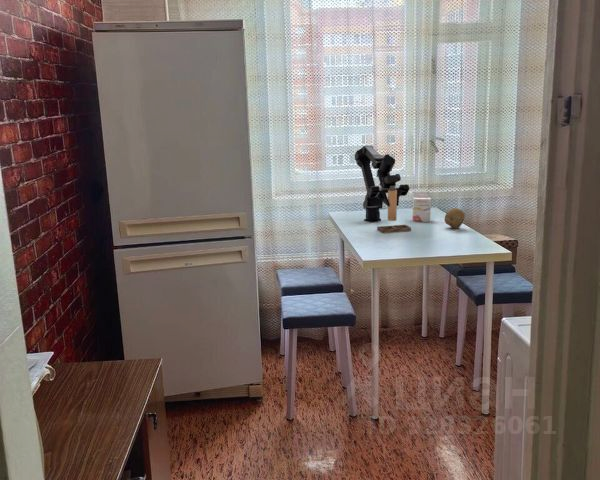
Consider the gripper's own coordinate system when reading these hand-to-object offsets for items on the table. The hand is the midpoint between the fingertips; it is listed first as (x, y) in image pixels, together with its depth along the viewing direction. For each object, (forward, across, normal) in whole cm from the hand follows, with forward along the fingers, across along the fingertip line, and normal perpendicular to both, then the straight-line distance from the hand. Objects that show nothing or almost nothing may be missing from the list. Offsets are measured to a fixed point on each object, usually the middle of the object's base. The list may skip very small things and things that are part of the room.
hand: (393, 205), depth 287 cm
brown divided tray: (+8, +1, +10) cm, 13 cm away
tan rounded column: (+4, 0, +6) cm, 7 cm away
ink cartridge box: (-4, +23, +22) cm, 32 cm away
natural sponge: (+11, +29, +7) cm, 32 cm away
